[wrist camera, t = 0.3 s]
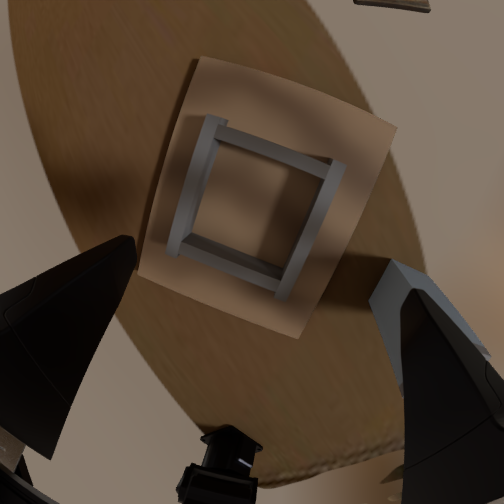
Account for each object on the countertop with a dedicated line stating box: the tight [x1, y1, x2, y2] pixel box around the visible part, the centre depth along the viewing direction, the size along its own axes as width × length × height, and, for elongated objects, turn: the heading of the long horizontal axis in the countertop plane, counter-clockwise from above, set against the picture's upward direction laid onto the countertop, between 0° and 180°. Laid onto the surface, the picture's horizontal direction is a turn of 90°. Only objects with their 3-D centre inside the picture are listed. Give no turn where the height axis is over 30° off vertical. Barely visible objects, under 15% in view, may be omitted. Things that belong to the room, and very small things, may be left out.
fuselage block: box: [368, 259, 491, 398], centre depth 19 cm, size 4×4×12 cm
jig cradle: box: [138, 56, 397, 339], centre depth 22 cm, size 20×16×4 cm
